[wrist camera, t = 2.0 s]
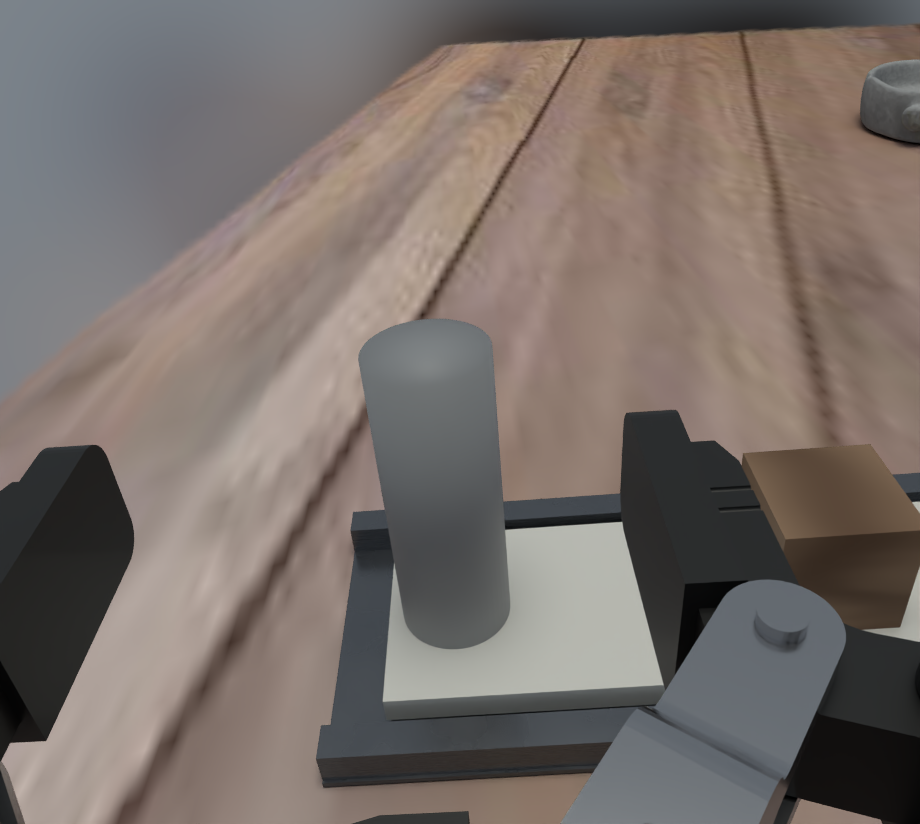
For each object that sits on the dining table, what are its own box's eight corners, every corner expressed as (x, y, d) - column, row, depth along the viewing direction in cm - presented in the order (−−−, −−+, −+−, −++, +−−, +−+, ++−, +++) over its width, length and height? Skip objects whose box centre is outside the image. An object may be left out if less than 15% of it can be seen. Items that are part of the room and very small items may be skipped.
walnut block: (847, 537, 32) (870, 444, 29) (900, 627, 28) (931, 529, 26) (730, 545, 32) (743, 453, 29) (767, 635, 28) (785, 539, 26)
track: (1142, 481, 35) (1155, 454, 34) (1415, 725, 25) (1442, 697, 24) (358, 534, 36) (353, 510, 36) (323, 787, 27) (315, 761, 26)
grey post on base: (930, 519, 34) (1017, 244, 27) (1048, 680, 27) (1203, 370, 20) (399, 554, 34) (355, 297, 28) (386, 720, 28) (325, 434, 21)
